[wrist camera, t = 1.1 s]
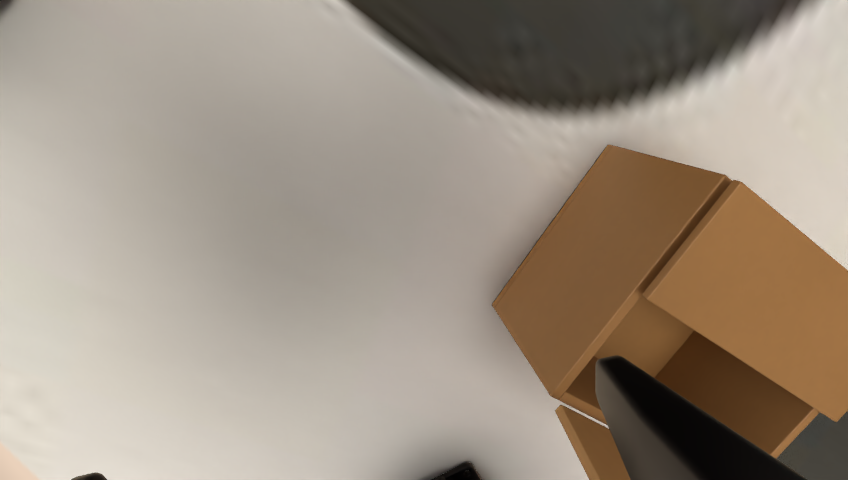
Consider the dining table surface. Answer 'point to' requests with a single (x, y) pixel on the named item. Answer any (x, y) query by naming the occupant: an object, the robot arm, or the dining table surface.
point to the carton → (684, 298)
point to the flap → (593, 446)
